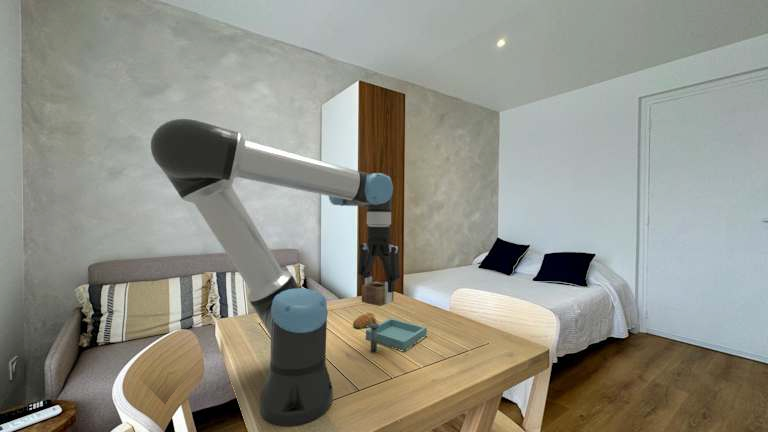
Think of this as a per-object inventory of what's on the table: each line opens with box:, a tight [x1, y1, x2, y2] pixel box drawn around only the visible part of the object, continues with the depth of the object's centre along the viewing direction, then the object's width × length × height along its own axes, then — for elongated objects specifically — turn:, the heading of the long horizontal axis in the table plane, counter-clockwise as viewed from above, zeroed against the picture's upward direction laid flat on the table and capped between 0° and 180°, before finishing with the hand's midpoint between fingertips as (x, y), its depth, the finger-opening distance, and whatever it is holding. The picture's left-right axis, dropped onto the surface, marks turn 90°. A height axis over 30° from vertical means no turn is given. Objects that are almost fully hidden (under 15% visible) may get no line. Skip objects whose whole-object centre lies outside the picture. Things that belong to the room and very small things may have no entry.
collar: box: [361, 281, 395, 307], centre depth 90 cm, size 7×7×5 cm
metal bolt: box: [369, 323, 380, 354], centre depth 89 cm, size 3×3×8 cm
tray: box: [365, 317, 428, 352], centre depth 100 cm, size 15×15×3 cm
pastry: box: [352, 312, 378, 329], centre depth 111 cm, size 9×7×4 cm
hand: (377, 300), depth 90 cm, fingers closed on collar, 7 cm apart
